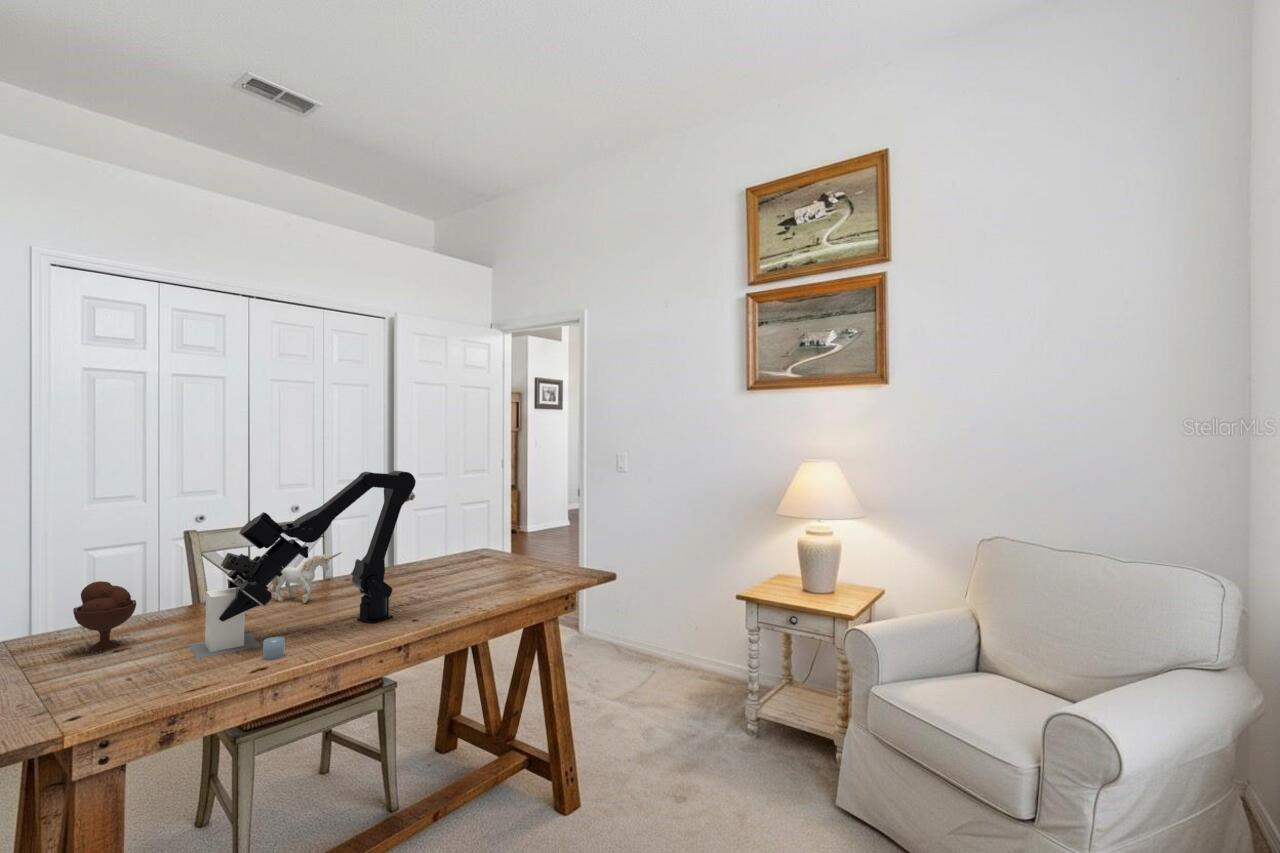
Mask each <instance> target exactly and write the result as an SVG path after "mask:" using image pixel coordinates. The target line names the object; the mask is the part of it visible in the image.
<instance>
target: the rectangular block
mask: <svg viewBox="0 0 1280 853" xmlns="http://www.w3.org/2000/svg"><path fill="white" fill-rule="evenodd" d="M238 588H239V589H240V590H242V589H241V588H240V587H238ZM242 591H243V590H242ZM205 593H206V595H205V628H204V629H205V632H204V633H205V635H204V641H205V645H206V647H207V648H208V650H209V651H210V652H214V651H219V650H224V649H229V648H235V647H240V646H244V634H245V619H246V618H245V616H246V615H245V613H246V611H245V612H242V613H240V614H238V615H236V616H234V617H232V618H230V619H227V620H225V621H221V620H219V617H220V616H221V615H222V613H223V612H224V611H225V610H226V608H227V607H228V606H229V605H230V603H231V602H232V601H233V599H234V598H235V597H236V588H229V589H228V588H224V589H215V590H207V591H206V592H205Z"/></svg>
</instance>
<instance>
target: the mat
mask: <svg viewBox="0 0 1280 853" xmlns="http://www.w3.org/2000/svg"><path fill="white" fill-rule="evenodd" d="M187 645H188V647H189V648H190V651H191V653H192V654H193V656H194V657H195V659H196V660H199V659H204V658H209V657H213V656H219V655H224V654H231V653H234V652H235V653H236V652H240V651H245V650H249V649H254V648H260V647H262V645H261V644H260V643H259V642H258V641H257V639H256V638H254V637H253V635H252V634H251V633H250V632H248V633H244V646H240V647H235V648H229V649H224V650H219V651H214V652H210V651H209V650H208V648H207V647H206V645H205V640H203V641H199V642H193V643H188V644H187Z"/></svg>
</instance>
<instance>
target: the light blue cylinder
mask: <svg viewBox="0 0 1280 853" xmlns="http://www.w3.org/2000/svg"><path fill="white" fill-rule="evenodd" d="M285 640H286V637H285V636H284V637H283V636H273V637H272V636H271V637H268V638H265V639H264V640H263V641H262V643H263V646H262V648H263V649H262V658H263V660H269V661H270V660H277V659H281V658H283V657H284V656H285V652H286V650H285V646H286V645H285V644H286V641H285Z"/></svg>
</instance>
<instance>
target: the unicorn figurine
mask: <svg viewBox="0 0 1280 853" xmlns="http://www.w3.org/2000/svg"><path fill="white" fill-rule="evenodd" d="M341 554H343V552H342V551H340V552H338V553H334V555H331V556H329V555H328V556H326V555H327V554H326V553H324V554H319V555H314V556H312V557H311V558H309V559H307V561H304V562H303V565H302V566H301V567H298V568H297V567H292V566H287V567H286V568H285V569H284V570H283V571H282V572H281V573H283V574H282V575H281V576H280V577H279V576H277V577H276V578H275V579H274V580H273V581H272V582H271V583H270V584H271V585H272V588H271V590H270V591H269V592H271V593H272V594H273V593H275V594H274V599H275V600H276V601H278V603H283V602H285V600H284V598H283V597H282V596H281V594H280V590H282V587H283V585H284V586H285V587H286V588H287V589H288V594H289V598H290V599H292V598H294V599H295V597H296V593H295V592H296V591H295V590H294V588H292V586H291V584H294V585H302V586H303V587H304V588H305V591H304V592H303V594H302V597H301V603H302V604H306V603H307V602H308V601H309V602H310V601H312V600H313V599H312V597H311V596H310V595H311V592H312V589H311V585H312V583H313V581H314V579H315V577H316V576H315V575H316V574H315V571H316V569H317V568H318V567H319V566H320V567H321V568H322V571H324V572H327V571H328V570H329V569H330V567H329V562H330V560H332V559H333V558H336V557H337V556H339V555H341Z"/></svg>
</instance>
